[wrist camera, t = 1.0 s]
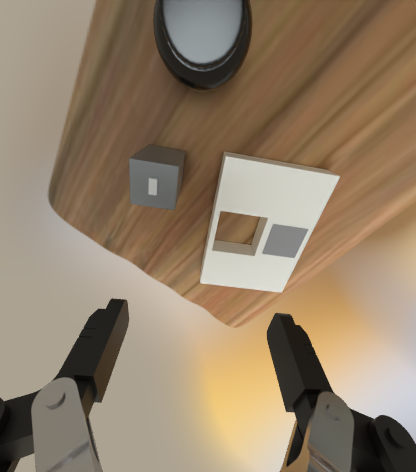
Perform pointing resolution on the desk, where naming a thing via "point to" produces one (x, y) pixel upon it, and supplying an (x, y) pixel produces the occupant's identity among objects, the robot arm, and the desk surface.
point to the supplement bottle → (203, 40)
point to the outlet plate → (264, 220)
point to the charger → (156, 176)
